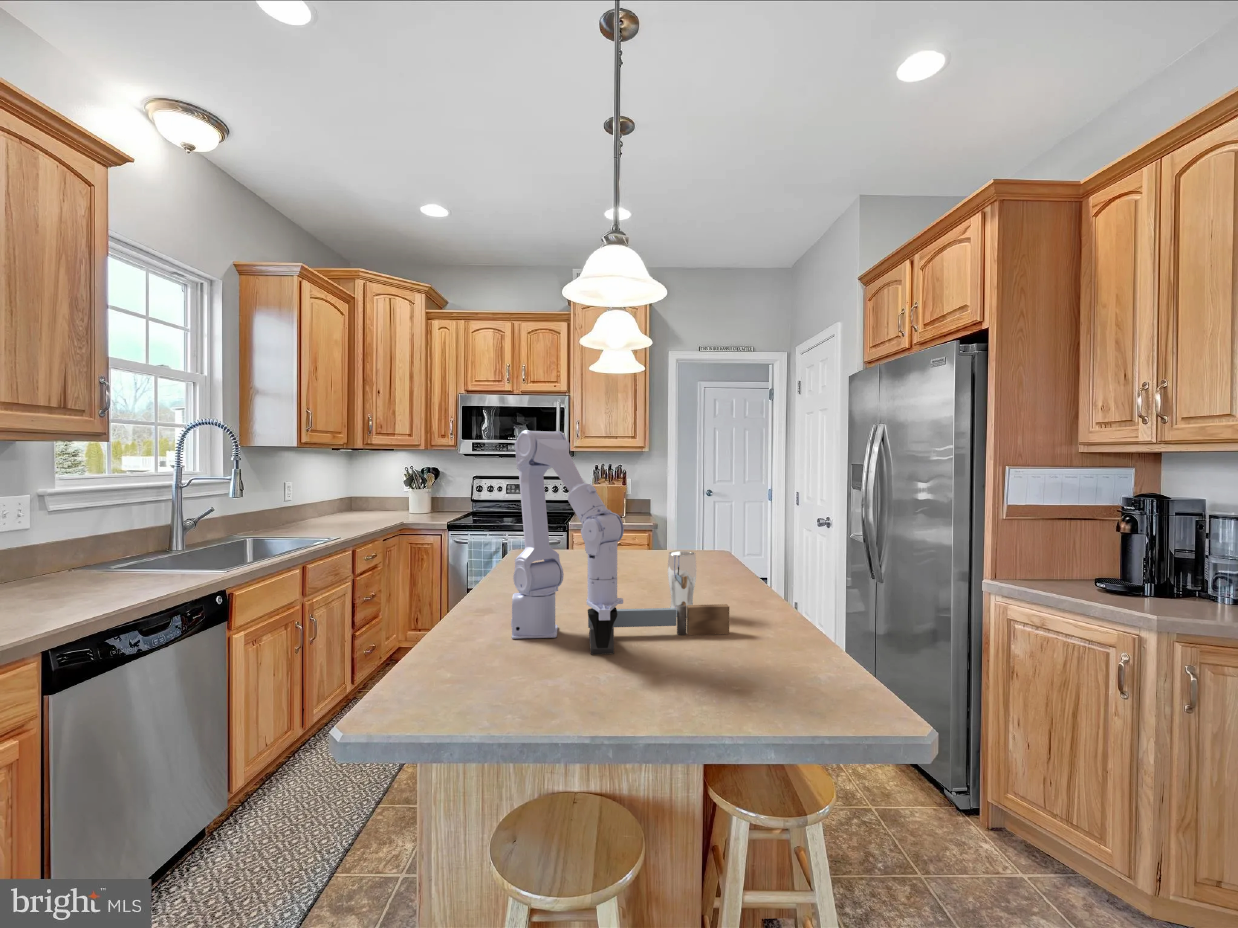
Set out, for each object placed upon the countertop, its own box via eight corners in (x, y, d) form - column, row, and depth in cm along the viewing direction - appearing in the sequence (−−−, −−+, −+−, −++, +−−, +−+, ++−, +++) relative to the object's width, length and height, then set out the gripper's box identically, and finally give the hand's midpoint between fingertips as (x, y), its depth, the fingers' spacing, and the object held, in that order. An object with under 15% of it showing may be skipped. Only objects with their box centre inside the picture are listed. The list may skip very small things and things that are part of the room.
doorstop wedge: (613, 653, 112) (613, 628, 112) (590, 654, 112) (590, 628, 112) (610, 637, 122) (610, 614, 122) (589, 638, 122) (589, 614, 122)
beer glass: (697, 618, 137) (698, 555, 136) (668, 618, 137) (668, 555, 137) (694, 610, 144) (694, 550, 143) (666, 610, 144) (666, 550, 143)
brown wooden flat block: (677, 635, 124) (678, 607, 124) (676, 632, 126) (676, 605, 126) (729, 633, 125) (729, 606, 125) (726, 631, 127) (726, 604, 127)
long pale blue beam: (588, 627, 122) (588, 611, 122) (588, 625, 124) (588, 609, 124) (676, 625, 124) (676, 609, 124) (675, 623, 126) (675, 607, 126)
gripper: (626, 585, 104) (626, 659, 104) (619, 568, 118) (619, 634, 118) (587, 585, 103) (587, 660, 103) (585, 569, 117) (585, 635, 118)
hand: (602, 647), depth 111 cm, fingers closed
